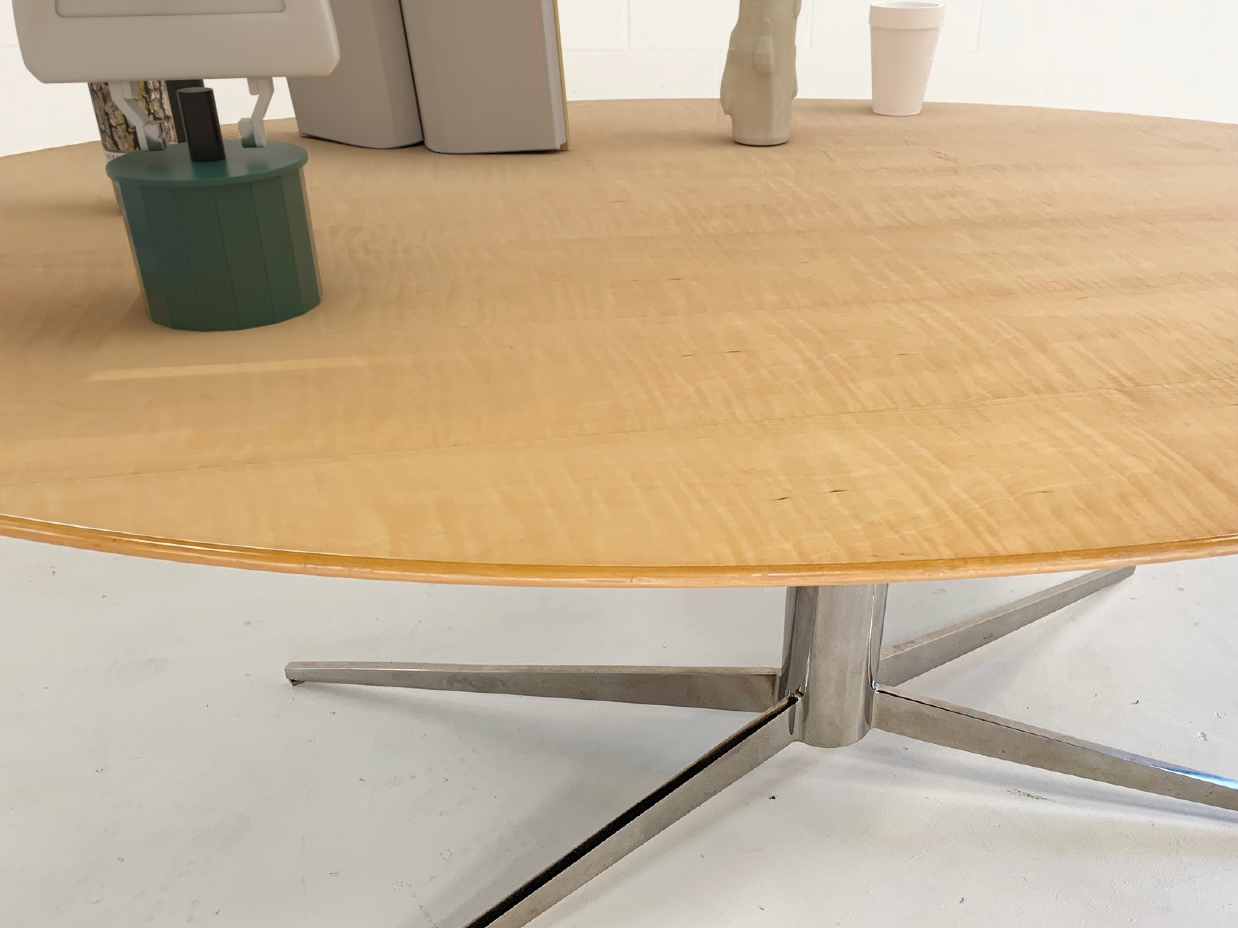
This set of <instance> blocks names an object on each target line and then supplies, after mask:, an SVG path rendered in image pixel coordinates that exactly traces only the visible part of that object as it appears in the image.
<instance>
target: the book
mask: <svg viewBox="0 0 1238 928" xmlns="http://www.w3.org/2000/svg"><path fill="white" fill-rule="evenodd" d="M329 2H330V6H331V10H332V14H333V18H334V22H335V26H336V31H337V36H338V42H339V48H340V61H339V63H338V65H337V66H336V68H335V69H334V70H333V71H332V72H331V73H330V74H329V75H327V76H303V77H285V79H286V84H287V87H288V92H289V96H290V100H291V103H292V108H293V113H294V117H295V120H296V125H297V133H298V134H302V135H307V136H310V137H315V138H320V139H325V140H329V141H333V142H337V143H342V144H346V145H351V146H355V147H358V148H366V149H367V148H368V149H375V150H383V149H384V150H386V149H396V148H401V147H406V146H410V145H414V144H417V143H419V142H420V143H421V142H423V141H424V145H425V147H426V149H428V150H429V151H432V152H434V153H438V152H440V153H438V154H445V155H447V154H446V153H449V154H448V155H454V154H455V155H468V154H472V155H473V154H489V153H490V154H492V153H494V154H495V153H513V152H514V153H515V152H533V151H535V152H536V151H554V150H555V151H556V150H558V151H570V150H571V149H572V144H571V132H570V122H569V113H568V112H569V111H568V102H567V92H566V91H567V90H566V81H565V69H564V59H563V58H564V57H563V47H562V35H561V27H560V17H559V15H560V14H559V5H558V0H329ZM451 153H452V154H451Z"/></svg>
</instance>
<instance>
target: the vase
mask: <svg viewBox="0 0 1238 928" xmlns="http://www.w3.org/2000/svg"><path fill="white" fill-rule="evenodd" d="M802 1H803V0H739V7H738V17H737V21H736V24H735V25H734V26H733V29H732V31H731V32H730V37H729V41H728V49H727V53H726V59H725V64H724V68H723V74H722V77H721V81H720V87H719V88H720V89H719V102H720V104H721V109H722V110H723V113H724V114H723V115H724V116H725V115H727V116H730V118H731V128H732V129H731V135H732V137H733V140H734V142H737V143H740V144H743V145H748V146H762V147H765V146H775V145H776V146H777V145H780V144H783V143H786V142H788V140H789V138H790V135H791V125H792V124H791V121H792V102H793V100H794V99H795V98H796V97H797V96H798V91H799V88H798V78H797V77H798V76H797V67H796V61H797V45H796V36H797V25H798V24H797V23H798V18H799V15H800V14H801V9H802Z"/></svg>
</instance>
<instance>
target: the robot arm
mask: <svg viewBox="0 0 1238 928" xmlns="http://www.w3.org/2000/svg"><path fill="white" fill-rule="evenodd" d="M11 6H12V13H13V19H14V20H13V21H14V27H15V31H16V36H17V41H18V45H19V50H20V51H19V52H20V54H21V58H22V61H23V64H24V67H25V68H26V70H27V71H28V72H29V73H30V74H31V75H32V76H33V77H34V78H35V79H36V80H38V82H40V83H41V84H47V85H48V84H80V83H82V84H83V83H84V84H85V83H87V82H108V85H109V89H110V94H111V98H112V100H113V102H114V103H115V104H116V105H117V106H118V108H119V109H120V110H121V111H122V112H123V114H124V115H125V116H126V117H127V118H128V120H129V121H130V122H131V123H132V124H133V125H134V126H136V131H137V135H138V139H139V144H140V148H141V150H142V151H143V152H150V151H165V149H167V139H166V136H165V135H164V134H163V133H164V131H165V129H164V125H163V121H150V119H149V117H148V116H147V115H146V114H145V112H144V111H143V110H142V108H141V107H140V106H139V104H138V103H137V102H136V100H135V99H134V98H133V97H135V96H136V95H137V94H139V87H138V83H137V81H159V80H195V79H203V80H226V79H227V80H229V79H246V81H247V82H246V83H247V86H248V93H249V95H250V96H257V100H256V102H255V104H254V105H255V106H254V108H253V111H252V113H251V116H250V117H241V118H239V119H240V120H239V121H237V125H238V131H239V134H240V135H241V138H240V139H241V143H242V146H243V148H264V147H265V146H266V140H267V135H266V131H265V130H266V129H265V123H264V118H265V116H266V115H267V111H268V108H269V106H270V103H271V100H272V99H273V95H274V92H275V85H274V80H273V78H286V77H303V76H327V75H329V74H330V73H331V72H332V71H333V70H334V69H335V68H336V66H337V65H338V63H339V61H340V48H339V42H338V36H337V31H336V26H335V22H334V18H333V14H332V10H331V6H330V2H329V0H11Z"/></svg>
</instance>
